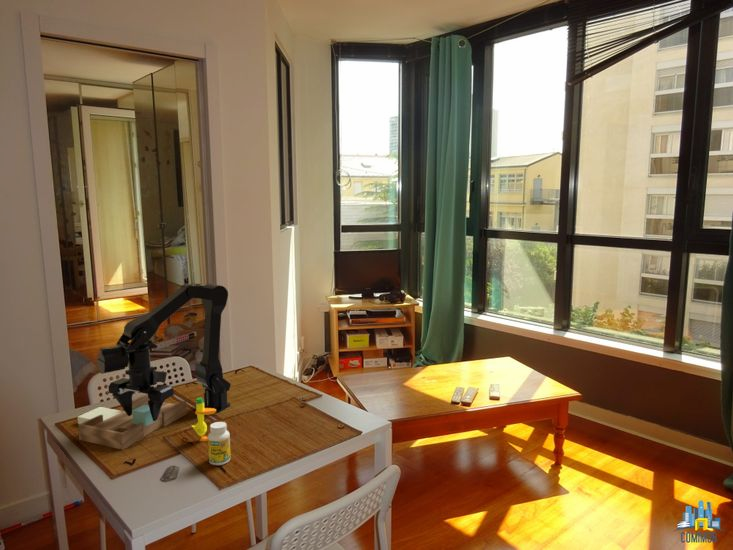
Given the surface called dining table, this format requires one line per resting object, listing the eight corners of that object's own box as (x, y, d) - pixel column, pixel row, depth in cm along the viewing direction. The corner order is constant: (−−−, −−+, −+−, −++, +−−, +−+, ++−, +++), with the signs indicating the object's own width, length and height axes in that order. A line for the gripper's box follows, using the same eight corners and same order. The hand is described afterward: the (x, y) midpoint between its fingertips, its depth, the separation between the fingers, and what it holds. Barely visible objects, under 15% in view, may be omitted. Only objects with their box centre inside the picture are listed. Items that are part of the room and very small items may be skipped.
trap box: (186, 414, 160) (186, 400, 160) (122, 449, 137) (121, 434, 137) (147, 406, 166) (146, 393, 165) (79, 439, 143) (78, 424, 142)
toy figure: (217, 436, 146) (216, 395, 144) (216, 442, 142) (214, 400, 140) (192, 437, 145) (191, 396, 143) (190, 443, 141) (188, 401, 139)
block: (157, 420, 150) (156, 406, 149) (145, 426, 146) (144, 412, 145) (144, 417, 152) (144, 404, 151) (133, 423, 147) (132, 410, 147)
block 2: (179, 472, 129) (180, 465, 129) (175, 483, 123) (176, 476, 123) (164, 472, 128) (165, 464, 128) (159, 483, 122) (160, 475, 122)
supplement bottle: (230, 454, 135) (229, 419, 134) (230, 464, 130) (229, 428, 129) (209, 456, 134) (208, 421, 133) (207, 467, 129) (206, 430, 127)
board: (125, 418, 157) (125, 411, 156) (103, 429, 149) (103, 422, 149) (100, 413, 160) (100, 406, 160) (78, 423, 153) (77, 416, 153)
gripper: (185, 361, 151) (187, 412, 153) (135, 354, 157) (138, 403, 159) (157, 372, 140) (160, 427, 143) (105, 364, 147) (108, 417, 149)
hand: (142, 418), depth 149 cm, fingers open, 9 cm apart
